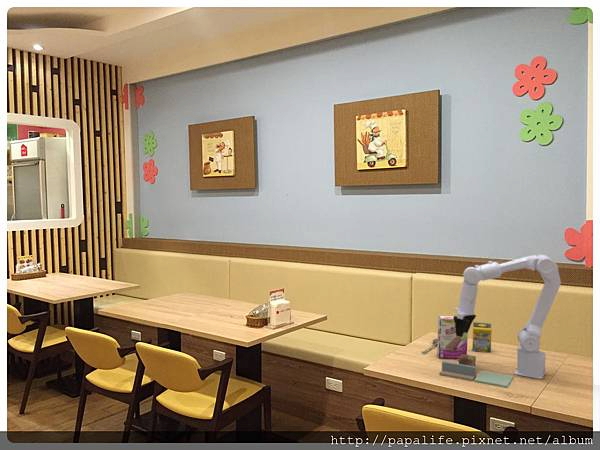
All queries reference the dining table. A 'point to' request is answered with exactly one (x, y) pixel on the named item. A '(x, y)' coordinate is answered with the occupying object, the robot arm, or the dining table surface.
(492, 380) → the mat
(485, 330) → the crayon box
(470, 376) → the grey long block
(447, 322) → the candy bar box
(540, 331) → the robot arm
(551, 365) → the dining table surface
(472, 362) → the lettered cube
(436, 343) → the soupspoon
